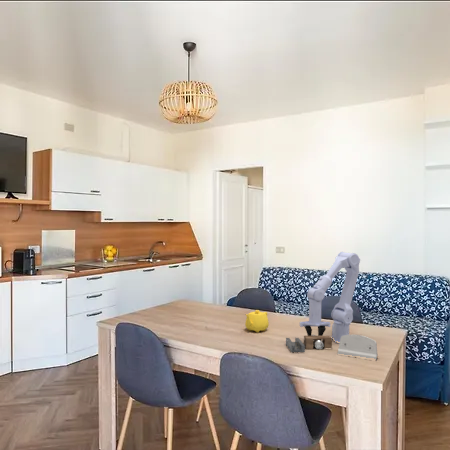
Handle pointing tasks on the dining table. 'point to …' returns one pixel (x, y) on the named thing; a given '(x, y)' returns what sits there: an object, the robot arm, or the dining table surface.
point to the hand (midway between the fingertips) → (314, 341)
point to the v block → (295, 345)
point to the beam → (309, 339)
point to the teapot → (257, 321)
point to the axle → (318, 343)
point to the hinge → (358, 346)
